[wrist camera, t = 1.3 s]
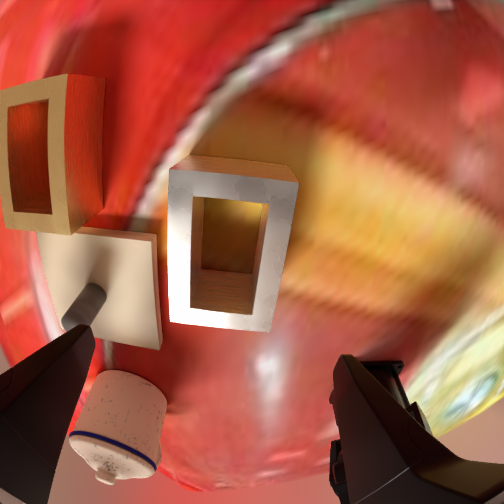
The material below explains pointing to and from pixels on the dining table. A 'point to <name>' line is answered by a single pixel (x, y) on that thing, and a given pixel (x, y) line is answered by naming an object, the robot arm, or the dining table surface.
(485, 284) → the dining table surface
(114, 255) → the keeper
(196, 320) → the link
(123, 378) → the teacup with lid
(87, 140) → the link
